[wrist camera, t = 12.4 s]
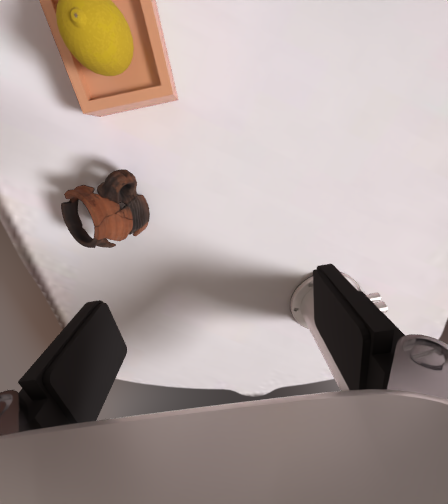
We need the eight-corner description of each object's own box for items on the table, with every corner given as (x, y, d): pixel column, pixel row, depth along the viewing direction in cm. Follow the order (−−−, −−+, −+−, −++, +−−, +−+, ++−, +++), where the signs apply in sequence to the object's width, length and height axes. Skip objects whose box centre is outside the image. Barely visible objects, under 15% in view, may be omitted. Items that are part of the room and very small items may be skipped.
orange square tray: (152, -12, 25) (142, -39, 21) (178, 100, 29) (173, 94, 25) (61, 9, 25) (34, -13, 21) (99, 116, 29) (83, 113, 26)
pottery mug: (143, 247, 38) (96, 268, 31) (104, 208, 39) (51, 221, 32) (170, 186, 31) (118, 196, 24) (122, 142, 32) (59, 140, 26)
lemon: (133, 94, 26) (103, 77, 19) (81, 65, 25) (28, 35, 17) (150, 37, 24) (124, -7, 17) (94, 1, 23) (40, -62, 15)
